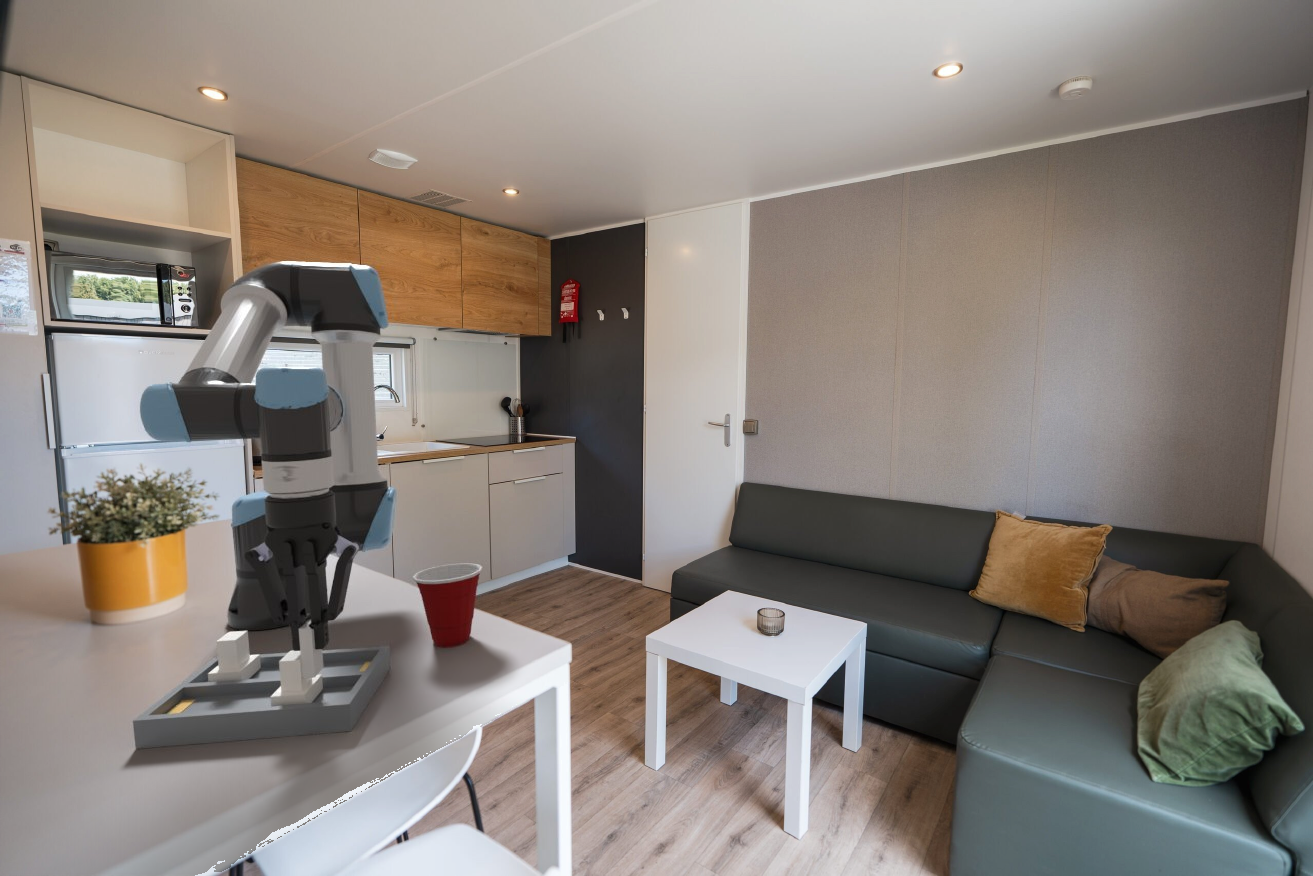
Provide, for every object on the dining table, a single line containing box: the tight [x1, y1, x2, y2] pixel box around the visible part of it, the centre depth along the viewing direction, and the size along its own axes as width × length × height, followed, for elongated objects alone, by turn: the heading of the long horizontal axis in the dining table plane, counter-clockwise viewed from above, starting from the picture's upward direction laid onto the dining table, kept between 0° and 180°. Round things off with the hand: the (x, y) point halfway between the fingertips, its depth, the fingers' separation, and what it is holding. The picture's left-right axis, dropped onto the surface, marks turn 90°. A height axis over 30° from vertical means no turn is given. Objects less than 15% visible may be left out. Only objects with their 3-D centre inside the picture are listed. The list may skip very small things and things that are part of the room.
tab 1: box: [208, 630, 261, 682], centre depth 82 cm, size 5×4×6 cm
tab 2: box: [270, 649, 323, 706], centre depth 76 cm, size 5×4×6 cm
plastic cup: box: [412, 562, 483, 648], centre depth 98 cm, size 11×11×12 cm
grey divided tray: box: [132, 645, 391, 750], centre depth 80 cm, size 16×24×4 cm, turn 98°
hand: (313, 672), depth 77 cm, fingers closed
